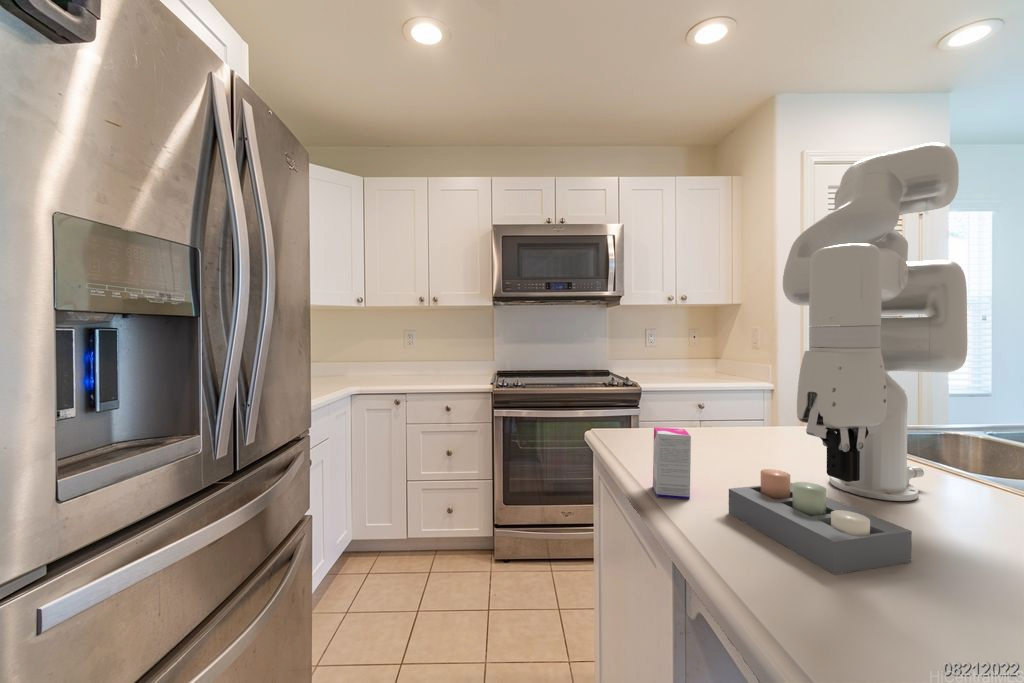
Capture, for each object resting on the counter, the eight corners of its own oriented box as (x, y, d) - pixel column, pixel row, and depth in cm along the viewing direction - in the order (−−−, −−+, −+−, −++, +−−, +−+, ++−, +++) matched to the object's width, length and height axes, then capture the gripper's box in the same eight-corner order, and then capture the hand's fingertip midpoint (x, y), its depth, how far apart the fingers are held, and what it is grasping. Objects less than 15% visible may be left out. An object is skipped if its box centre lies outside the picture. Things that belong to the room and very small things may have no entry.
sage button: (808, 507, 64) (808, 480, 64) (833, 518, 60) (833, 490, 60) (785, 509, 63) (785, 483, 63) (809, 521, 59) (810, 492, 59)
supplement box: (691, 500, 75) (691, 435, 74) (656, 497, 76) (655, 433, 76) (685, 488, 80) (684, 427, 80) (652, 486, 82) (651, 426, 81)
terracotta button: (775, 492, 70) (775, 468, 70) (796, 502, 66) (796, 476, 66) (754, 494, 69) (754, 470, 69) (774, 504, 65) (774, 478, 65)
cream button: (847, 538, 58) (847, 509, 58) (878, 552, 54) (878, 521, 54) (823, 541, 57) (823, 511, 57) (852, 556, 53) (852, 524, 53)
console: (790, 506, 72) (790, 482, 72) (911, 562, 54) (911, 531, 54) (728, 513, 69) (728, 488, 69) (834, 574, 52) (834, 541, 52)
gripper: (859, 338, 62) (858, 464, 62) (772, 340, 58) (772, 474, 59) (919, 339, 54) (917, 482, 55) (824, 342, 51) (823, 494, 51)
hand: (842, 477), depth 57 cm, fingers closed
